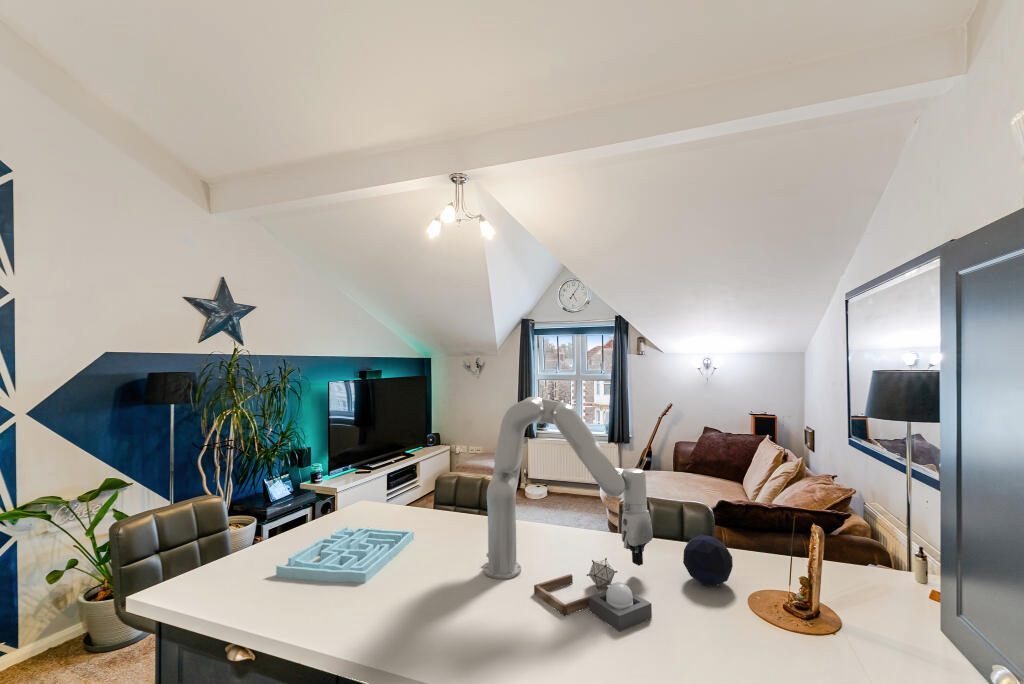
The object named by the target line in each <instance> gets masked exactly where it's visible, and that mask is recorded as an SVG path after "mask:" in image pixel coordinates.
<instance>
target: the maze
mask: <svg viewBox="0 0 1024 684" xmlns="http://www.w3.org/2000/svg"><path fill="white" fill-rule="evenodd" d="M348 527H349V526H347V525H346V526H344V527H341V528H340V529H338V530H337V531H335V532H333V533H332V534H330V537H329V538H328V537H322V538H321V539H319V540H317V541H316V542H315V541H314V542H313V543H311V544H310V545H309V546H306V547H304V548H302V549H301V550H299V551H298V552H296V553H294V554H293V555H291V556H289V557H287V558H288V561H287V562H288V563H287V564H288V565H282V564H277V565H276V568H275V570H276V572H275V573H276V574H275V576H276V577H279V578H285V579H297V580H307V581H317V582H318V581H319V582H320V581H321V582H327V583H328V582H329V583H356V584H367V582H369V581H370V580H372V578H374V576H375V575H377V574H378V573H379V572H380V571H381V570H382V569H383V568H384V567H386V566H387V565H388V564H389V563H390V562H391V561H393V559H394V558H395V557H397V556H398V555H399V554H400V553H401V552H403V550H404V549H405V548H406V546H408V545H409V544H410V543H411V542H412V541H413V540H414V536H415V534H414V533H415V532H414V530H399V529H397V530H396V529H382V528H369V527H360V526H359V527H357V528H355V529H353V527H349V528H348ZM318 556H320V561H319V562H312V561H311V560H314V558H316V557H318ZM358 560H359V561H358Z"/></svg>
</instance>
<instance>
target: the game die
mask: <svg viewBox="0 0 1024 684" xmlns="http://www.w3.org/2000/svg"><path fill="white" fill-rule="evenodd" d="M591 563H592V564H591V567H590V569H589V572H588V573H587V574H586V576H587V577H590V579H591V580H592V582H593V583H594V584H595V586H596V590H597V589H598V590H599V588H601V587H605V586H606V587H607V586H608V587H609V586H610V585H611V584H612V581H613V579H614V577H615V574H616V573H617V574H618V570H614V569H613V567H612V565H610V564H609V561H607V556H606V557H605V558H604V559H603V560H602V559H601V560H597V561H594V560H593V559H591Z"/></svg>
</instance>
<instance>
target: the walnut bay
mask: <svg viewBox="0 0 1024 684" xmlns="http://www.w3.org/2000/svg"><path fill="white" fill-rule="evenodd" d="M573 578H574V577H573V574H571V573H570V574H565V575H562V576H560V577H557V578H553V579H550V580H546V581H544V582H540V583H537V584H534V585H533V593H534V595H536V597H538V598H539V599H541V600H542V601H543V602H545V603H546V605H549V606H550V607H551V608H553V609H554V608H555V609H556V610H555V609H554V610H555V611H556V612H558V611H559V612H560V613H559V612H558V613H559V614H561V615H562V614H563V615H564V616H563V615H562V616H563V617H566V615H567V616H569V615H572V614H575V613H577V612H576V611H578V612H580V611H579V610H581V611H583V610H585V608H586V609H589V608H588V607H589V596H592V595H593V594H590V595H588V596H585V597H582V598H579V599H577V600H574V601H571V602H568V603H566V604H565V603H564V602H562V601H561V600H560V599H558V598H557V597H555V596H554V595H552V594H551V593H550V592H549V591H553V590H556V589H559V588H562V587H561V586H563V587H565V586H564V585H566V586H568V585H567V584H569V585H571V584H570V583H572V584H573V580H574V579H573ZM558 587H559V588H558ZM555 588H556V589H555ZM600 592H601V591H600ZM600 592H598V593H600ZM582 609H583V610H582ZM574 612H575V613H574ZM571 613H572V614H571Z"/></svg>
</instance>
